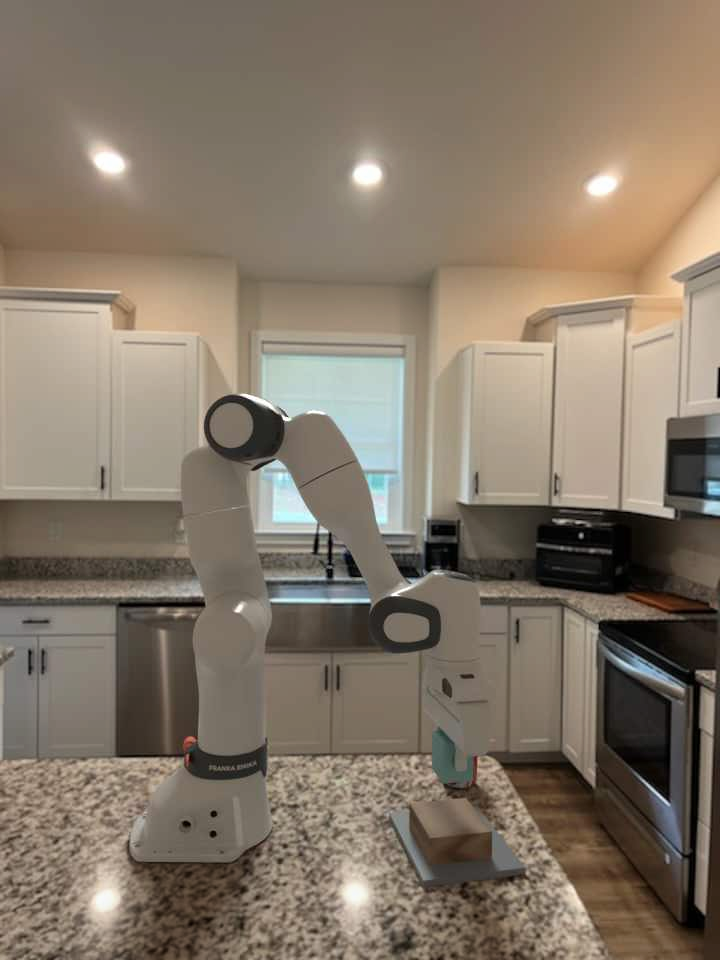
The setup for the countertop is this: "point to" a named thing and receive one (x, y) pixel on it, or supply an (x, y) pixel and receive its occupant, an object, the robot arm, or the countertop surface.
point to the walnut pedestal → (450, 831)
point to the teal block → (448, 760)
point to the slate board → (459, 872)
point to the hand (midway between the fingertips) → (451, 759)
